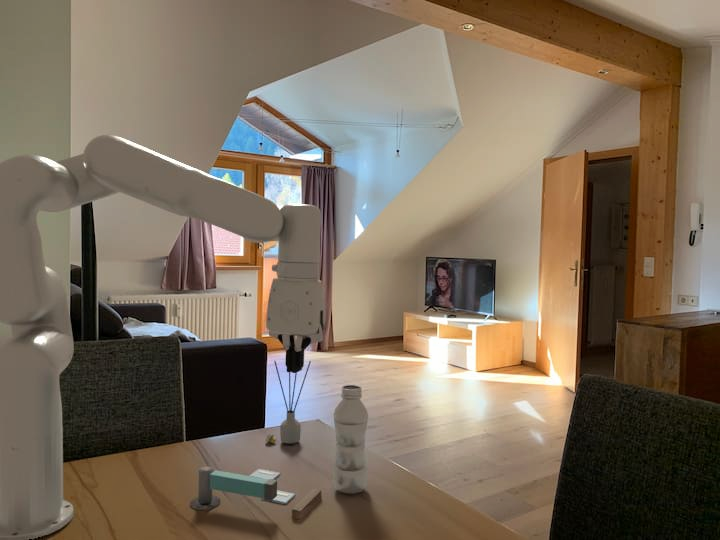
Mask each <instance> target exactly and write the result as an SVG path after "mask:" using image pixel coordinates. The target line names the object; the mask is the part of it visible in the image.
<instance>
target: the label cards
mask: <svg viewBox="0 0 720 540" xmlns="http://www.w3.org/2000/svg"><path fill="white" fill-rule="evenodd" d="M249 476H252V477H257V478H263V479H274V480H277V478H278V477H280V476H281V472H278V471H271V470H268V469H262V468H258V469H256V470H255V471H253V473H251V474H250V475H249ZM295 496H296V493H293V492H288V491H282V490H279V489H277V496H276V497H275V498H274V499H273V500H272V501H269V500H266V501H267V502H272V503H277V504H282V505H287V504H288V503H289V502H290V501H291V500H292V499H294V498H295ZM261 500H263V501H265V500H264V499H263V498H261Z"/></svg>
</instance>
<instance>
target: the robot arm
mask: <svg viewBox="0 0 720 540" xmlns="http://www.w3.org/2000/svg"><path fill="white" fill-rule="evenodd" d="M119 193H121V194H124V195H127V196H129V197H131V198H134V199H136V200H139V201H142V202H144V203H146V204H149V205H152V206H154V207H157V208H160V209H162V210H163V211H166V212H168V213H172V214H175V215H177V216H181V217H187V218H191V219H195V220H199V221H202V222H204V223H207V224H210V225H212V226H215V227H217V228H220V229H222V230H225V231H227V232H230V233H233V234H235V235H237V236H240V237H242V238H243V239H244V240H246V241H248V242H251V243H255V244H264V243H269V242H278V248H277V249H278V251H277V252H278V253H277V254H278V255H277V262H276V264H272V266H271V271H272V272H276V277H277V278H275V277H274V278H273V279H272V282H271V286H270V289H269V295H268V299H267V308H266V319H265V324H266V325H265V327H266V329H267V331H268V336H269V337H270V338H273V339H276V340H278V341H279V342H280V343H281V344H282V347H283V350H284V351H285V367H286V373H289V372H290V373H293V374H296V372H297V373H298V372H301V371H302V370H303V368H304V365H305V364H304V363H305V350H306V349H307V348H308V347H309V346H310V345H311V344H314V343H315V344H316V343H320V342H322V341H324V333H323V332H324V329H325V323H326V322H325V321H326V319H325V318H326V315H325V314H326V313H325V311H326V310H325V308H326V306H325V296H324V295H325V294H324V288H323V282H322V280H319V278H320V277H319V276H320V274H319V273H320V249H321V247H320V246H321V231H322V230H321V227H322V226H321V225H322V224H321V223H322V212H321V209H320V208H319V207H318V206H316V205H313V204H304V203H289V204H284V205H279V204H276V203H275V202H274V201H272V200H270V199H268V198H266V197H264V196H262V195H260V194H258V193H255V192H252V191H251V190H248V189H245V188H243V187H241V186H238V185H236V184H233V183H231V182H228V181H227V180H223V179H221V178H218V177H215V176H214V175H211V174H208V173H206V172H204V171H203V170H199V169H197V168H194V167H192V166H189V165H188V164H187V165H186V164H184V163H182V162H179V161H177V160H175V159H172V158H170V157H168V156H166V155H163V154H160V153H159V152H155V151H153V150H151V149H149V148H147V147H144V146H142V145H139V144H137V143H135V142H132V141H131V140H127V139H125V138H124V137H120V136H118V135H111V134H101V135H98V136H96V137H93V139H91V140H90V141H89V142H88V143H87V145H86V146H85V148H84V151H83V153H80V154H78V155H77V154H76V155H74V156H71V157H67V158H64V159H61V160H58V161H54V160H53V159H49V158H47V157H46V156H42V155H37V154H20V155H15V156H12V157H9V158H8V159H5V160H3V161H1V162H0V323H2V324H5V325H8V326H10V330H11V337H9V338H8V339H6V340H5V341H4V342H2V343H1V344H0V540H29V539H32V540H35V538H36V539H39V538H38V537H40V538H43V537H46V536H48V535H50V534H52V533H54V532H57V531H59V530H60V529H62V528H63V527H65V526H67V525H68V524H69V522H71V520H72V518H73V517H74V505H73V504H72V503H71V502H69V501H67V500H66V499H64V449H63V446H64V445H63V443H64V442H63V441H64V440H63V439H64V438H63V436H64V435H63V434H64V433H63V431H64V430H63V404H62V395H61V387H60V375H61V374H62V373H63V372H64V370H65V369H66V368H67V367H68V366H69V365H70V363H71V361H72V358H73V355H74V349H75V348H74V347H75V345H74V336H73V330H72V322H71V316H70V315H71V314H70V310H69V309H70V308H69V301H68V295H67V290H66V287H65V285H64V282H63V280H62V279H61V278H62V277H60V276H59V274H58V273H57V272H56V271H55V270H54V269H51V268H50V267H48V266H46V263H45V260H44V259H45V258H44V253H43V243H42V238H41V233H40V231H39V226H38V223H37V221H38V220H37V217H38V213H39V212H40V211H43V212H47V213H48V212H49V213H58V212H62V211H63V212H65V211H67V210H70V209H73V208H77V207H80V206H83V205H86V204H89V203H92V202H96V201H98V200H101V199H104V198H107V197H110V196H112V195H113V196H114V195H115V194H119ZM45 535H46V536H45ZM42 536H43V537H42Z"/></svg>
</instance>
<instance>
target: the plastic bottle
mask: <svg viewBox="0 0 720 540" xmlns="http://www.w3.org/2000/svg"><path fill="white" fill-rule="evenodd" d="M340 397H341V400H340V402H339V403H338V404H337V406H336V408H335V409H334V412H333V423H334V428H335V429H334V431H335V441H336V442H335V443H336V444H335V446H336V449H335V450H336V451H335V461H334V467H333V470H332V481H333V486H334V488H335V489H336V490H337V491H338V492H339V493H343V494H348V495H353V494H359V493H361V492H364V490H365V488H366V487H367V483H368V478H369V477H368V469H367V465H366V453H365V452H366V451H365V446H366V433H367V427H368V420H369V413H368V410H367V408H366V407H365V405H364V402H362V400H361V399H362V397H363V394H362V386H360V385H356V384H346V385H343V386H342V388H341V393H340Z"/></svg>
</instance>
